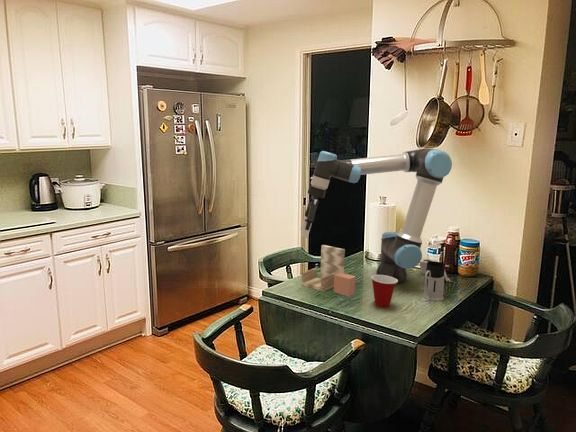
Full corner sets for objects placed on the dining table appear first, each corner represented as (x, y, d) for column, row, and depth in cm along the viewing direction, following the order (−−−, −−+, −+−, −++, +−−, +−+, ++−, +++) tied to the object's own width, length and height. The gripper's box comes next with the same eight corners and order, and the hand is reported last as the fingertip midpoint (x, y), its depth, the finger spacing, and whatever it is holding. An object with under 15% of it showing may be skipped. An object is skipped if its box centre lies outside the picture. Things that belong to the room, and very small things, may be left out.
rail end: (355, 293, 206) (355, 276, 204) (349, 296, 202) (349, 279, 200) (339, 289, 211) (340, 272, 209) (333, 292, 207) (334, 275, 205)
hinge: (450, 282, 222) (446, 264, 219) (443, 286, 221) (438, 268, 218) (429, 271, 238) (425, 254, 235) (421, 275, 237) (417, 258, 234)
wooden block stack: (343, 281, 220) (344, 249, 217) (323, 291, 207) (324, 256, 204) (322, 276, 228) (323, 244, 225) (301, 285, 215) (302, 251, 212)
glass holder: (446, 296, 204) (449, 263, 201) (433, 305, 193) (436, 271, 190) (427, 291, 209) (430, 259, 206) (413, 300, 199) (416, 266, 196)
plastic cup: (401, 309, 189) (403, 281, 187) (377, 311, 186) (378, 283, 184) (388, 299, 199) (389, 272, 197) (365, 301, 196) (366, 274, 194)
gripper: (308, 182, 211) (294, 226, 214) (311, 187, 186) (296, 237, 190) (324, 186, 211) (310, 230, 215) (329, 192, 187) (313, 242, 190)
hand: (303, 233), depth 202 cm, fingers open, 13 cm apart
